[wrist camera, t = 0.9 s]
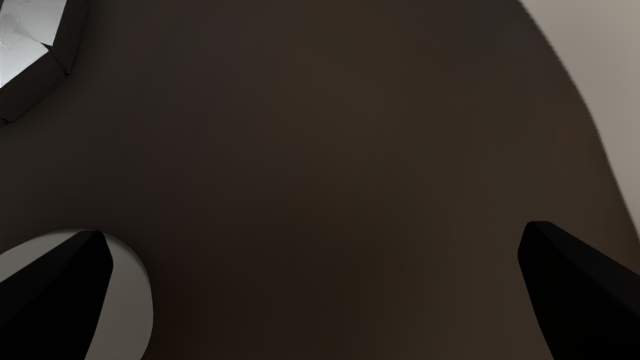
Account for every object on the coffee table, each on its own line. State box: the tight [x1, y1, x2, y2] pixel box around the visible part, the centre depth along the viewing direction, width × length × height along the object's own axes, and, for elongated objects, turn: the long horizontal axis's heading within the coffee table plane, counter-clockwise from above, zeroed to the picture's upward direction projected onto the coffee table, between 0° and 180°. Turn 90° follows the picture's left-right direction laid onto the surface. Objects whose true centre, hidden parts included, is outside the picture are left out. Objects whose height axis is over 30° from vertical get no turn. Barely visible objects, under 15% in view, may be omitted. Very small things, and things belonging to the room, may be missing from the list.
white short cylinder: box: [0, 228, 153, 360], centre depth 17 cm, size 6×6×4 cm
